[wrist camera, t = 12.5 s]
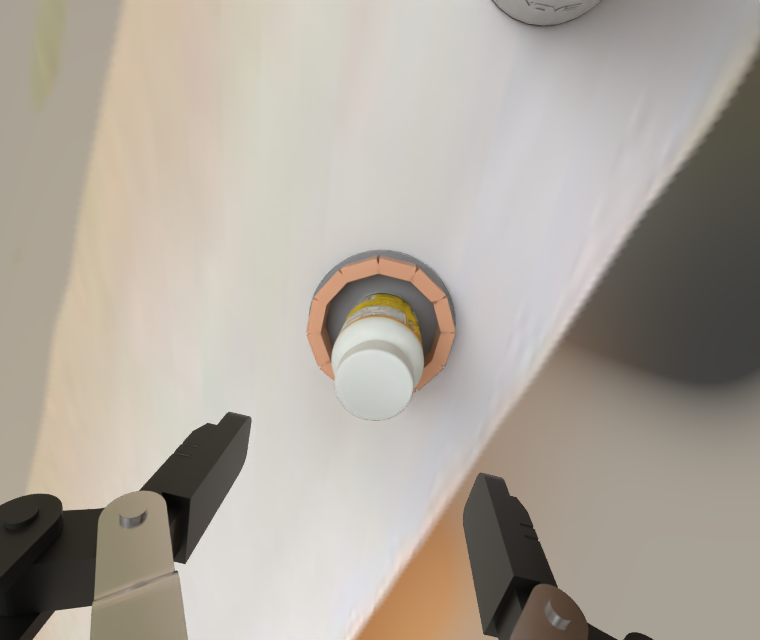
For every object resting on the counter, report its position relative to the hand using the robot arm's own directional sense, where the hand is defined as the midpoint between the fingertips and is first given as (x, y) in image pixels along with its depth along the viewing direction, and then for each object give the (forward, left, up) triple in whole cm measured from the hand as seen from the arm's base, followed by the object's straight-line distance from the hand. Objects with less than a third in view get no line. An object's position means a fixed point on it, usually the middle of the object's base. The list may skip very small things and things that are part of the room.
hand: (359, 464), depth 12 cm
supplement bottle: (0, 0, -16) cm, 16 cm away
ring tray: (0, 0, -16) cm, 16 cm away
